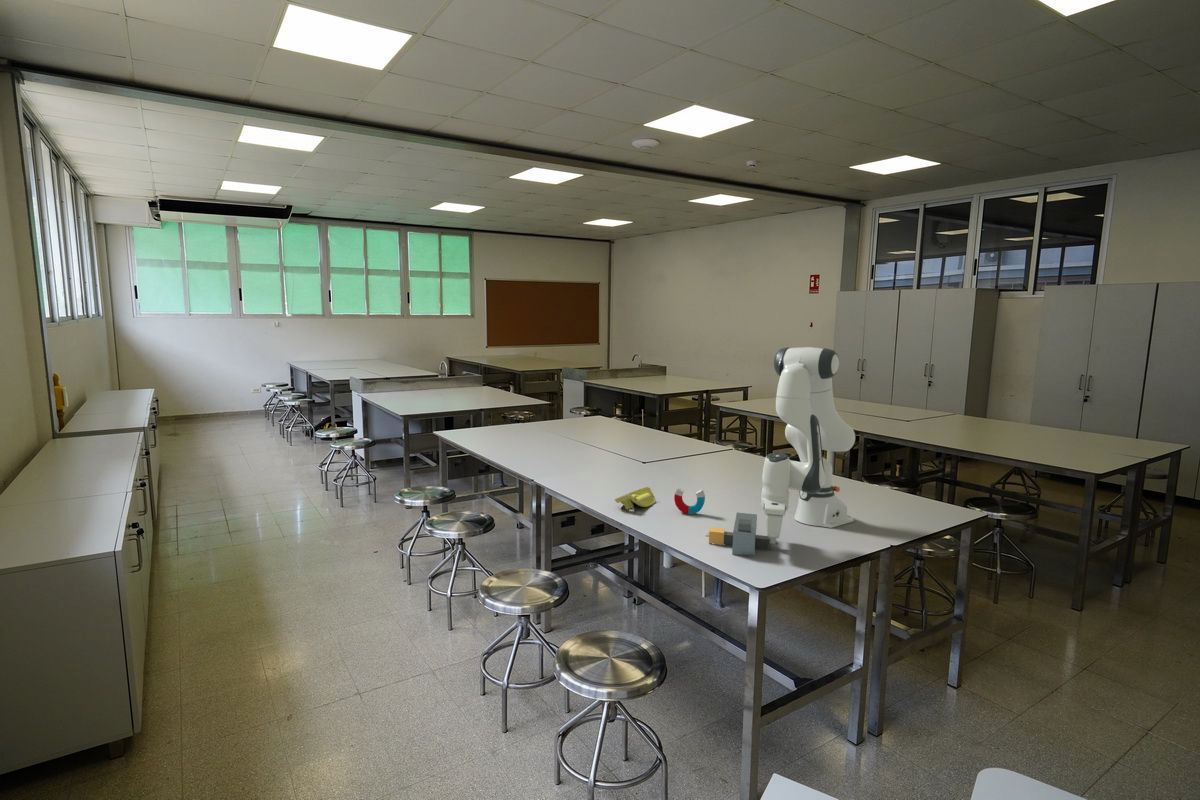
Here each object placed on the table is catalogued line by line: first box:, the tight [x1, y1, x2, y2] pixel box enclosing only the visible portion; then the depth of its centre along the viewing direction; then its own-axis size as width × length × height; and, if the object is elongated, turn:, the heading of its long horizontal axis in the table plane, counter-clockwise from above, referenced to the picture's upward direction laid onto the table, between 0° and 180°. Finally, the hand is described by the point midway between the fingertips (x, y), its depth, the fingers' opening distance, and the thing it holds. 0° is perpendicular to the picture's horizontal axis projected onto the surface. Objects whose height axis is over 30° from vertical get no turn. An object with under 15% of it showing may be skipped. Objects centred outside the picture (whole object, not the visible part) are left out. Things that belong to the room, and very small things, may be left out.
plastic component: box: [614, 486, 657, 511], centre depth 246 cm, size 20×7×10 cm
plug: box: [705, 526, 771, 551], centre depth 205 cm, size 21×4×4 cm, turn 74°
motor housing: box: [731, 512, 758, 558], centre depth 204 cm, size 7×20×10 cm, turn 164°
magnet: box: [673, 486, 706, 515], centre depth 237 cm, size 12×3×10 cm, turn 73°
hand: (772, 542), depth 202 cm, fingers closed
